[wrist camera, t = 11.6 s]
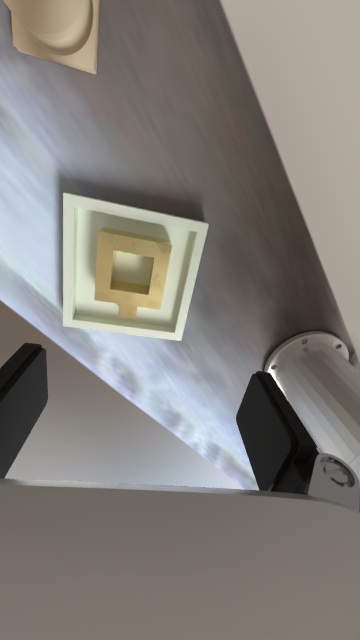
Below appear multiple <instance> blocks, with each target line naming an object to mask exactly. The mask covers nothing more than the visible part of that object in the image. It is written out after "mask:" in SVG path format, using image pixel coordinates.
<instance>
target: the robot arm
mask: <svg viewBox="0 0 360 640" xmlns="http://www.w3.org/2000/svg"><path fill="white" fill-rule="evenodd" d="M46 364H47V363H46V350H45V349H44V348H42V346H41V345H40V344H32V343H25V344H23V345H22V346H21V348H19V349H18V351H17V352H16V353H15V354H14V355H13V356H12V357H11V358H10V359H9V360H8V361H7V362H6V363H5V364H4V365H3V366H2V367H1V368H0V640H360V371H359V370H357V369H356V368H355V367H354V366H353V365H352V364H350V363H349V353H348V349H347V347H346V346H345V344H344V343H343V342H342V341H341V340H340V339H339V338H337V337H336V336H334V335H333V334H330V333H327V332H322V331H310V332H305V333H301V334H299V335H296V336H294V337H292V338H290V339H288V340H286V341H285V342H284V343H282V344H281V345H280V346H279V347H278V348H277V349H276V350H275V351H274V352H273V353H272V354H271V356H270V357H269V359H268V361H267V363H266V365H265V369H264V372H261V371H257V372H256V374H253V375H252V376H251V379H250V382H249V384H248V387H247V389H246V392H245V395H244V397H243V400H242V402H241V405H240V408H239V410H238V413H237V416H236V422H237V425H238V428H239V431H240V434H241V437H242V440H243V443H244V446H245V449H246V452H247V455H248V458H249V461H250V464H251V467H252V470H253V473H254V475H255V478H256V481H257V484H258V487H259V490H260V491H258V490H240V489H223V488H205V487H187V486H168V485H167V486H166V485H148V484H128V483H107V482H84V481H63V480H37V479H4V478H5V476H6V474H7V472H8V471H9V469H10V467H11V465H12V463H13V462H14V460H15V458H16V457H17V455H18V453H19V451H20V450H21V448H22V446H23V444H24V442H25V441H26V439H27V437H28V435H29V434H30V432H31V430H32V428H33V427H34V425H35V423H36V421H37V419H38V418H39V416H40V414H41V413H42V411H43V409H44V407H45V406H46V403H47V400H48V389H47V365H46ZM290 404H291V405H290ZM292 407H293V408H292ZM294 410H295V411H294ZM296 413H297V414H296ZM297 415H298V416H299V417H298V416H297ZM299 418H300V419H301V420H300V419H299ZM301 421H302V422H303V424H304V425H305V427H306V428H305V427H304V425H303V424H302V422H301ZM306 429H307V430H308V431H307V430H306ZM308 432H309V433H310V435H311V436H312V438H313V439H314V441H315V442H316V444H317V445H318V447H319V448H320V450H321V451H322V453H321V454H319V452H318V451H317V449H316V448H317V446H316V444H315V442H314V441H313V439H312V438H311V436H310V435H309V433H308Z"/></svg>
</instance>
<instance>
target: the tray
mask: <svg viewBox="0 0 360 640" xmlns="http://www.w3.org/2000/svg"><path fill="white" fill-rule="evenodd" d="M208 226H209V224H208V223H206V222H203V221H198V220H193V219H189V218H184V217H179V216H175V215H170V214H166V213H161V212H156V211H152V210H147V209H142V208H138V207H133V206H129V205H124V204H119V203H115V202H110V201H105V200H101V199H96V198H91V197H87V196H82V195H78V194H73V193H63V326H67V327H75V328H83V329H91V330H98V331H106V332H114V333H122V334H130V335H138V336H146V337H154V338H162V339H170V340H178V341H181V339H182V335H183V330H184V326H185V322H186V318H187V314H188V309H189V305H190V301H191V297H192V293H193V289H194V284H195V280H196V276H197V272H198V268H199V263H200V259H201V255H202V251H203V247H204V242H205V238H206V234H207V230H208ZM104 227H105V228H110V229H115V230H120V231H125V232H130V233H135V234H140V235H146V236H151V237H156V238H161V239H166V240H170V241H171V244H172V249H171V254H170V260H169V265H168V271H167V276H166V282H165V287H164V292H163V298H162V303H161V309H160V310H158V309H151V308H144V307H137V313H136V319H133V318H126V317H118V311H119V304H116V303H109V302H102V301H95V300H94V295H95V277H96V259H97V242H98V231H99V230H101V229H102V228H104ZM152 264H153V257H147V256H142V255H136V254H131V253H125V252H120V251H117V254H116V265H115V276H114V280H115V281H122V282H128V283H134V284H140V285H147V286H149V283H150V277H151V270H152Z"/></svg>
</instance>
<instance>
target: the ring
mask: <svg viewBox="0 0 360 640" xmlns="http://www.w3.org/2000/svg"><path fill="white" fill-rule="evenodd" d="M171 249H172V244H171V241H170V240H166V239H161V238H156V237H151V236H146V235H140V234H135V233H130V232H125V231H120V230H115V229H110V228H105V227H104V228H102V229H101V230H99V231H98V242H97V259H96V277H95V295H94V300H95V301H102V302H109V303H116V304H119V311H118V317H126V318H133V319H136V313H137V307H144V308H151V309H158V310H160V309H161V303H162V298H163V292H164V287H165V282H166V276H167V271H168V265H169V260H170V254H171ZM117 251H120V252H125V253H131V254H136V255H142V256H147V257H153V264H152V270H151V277H150V283H149V286H147V285H140V284H134V283H128V282H122V281H115V280H114V276H115V265H116V254H117Z"/></svg>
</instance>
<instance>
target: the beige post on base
mask: <svg viewBox="0 0 360 640" xmlns="http://www.w3.org/2000/svg"><path fill="white" fill-rule="evenodd" d="M4 2H5V4H6V5H7V7H8V8H9V9H10V11H11V18H12V34H13V45H14V46H15V47H16V49H17V50H18V51H19V52H22V53H25V54H29V55H32V56H35V57H39V58H42V59H45V60H49V61H52V62H55V63H59V64H62V65H65V66H69V67H72V68H75V69H79V70H82V71H85V72H89V73H92V74H95V75H97V52H98V29H99V7H100V0H4Z"/></svg>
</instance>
